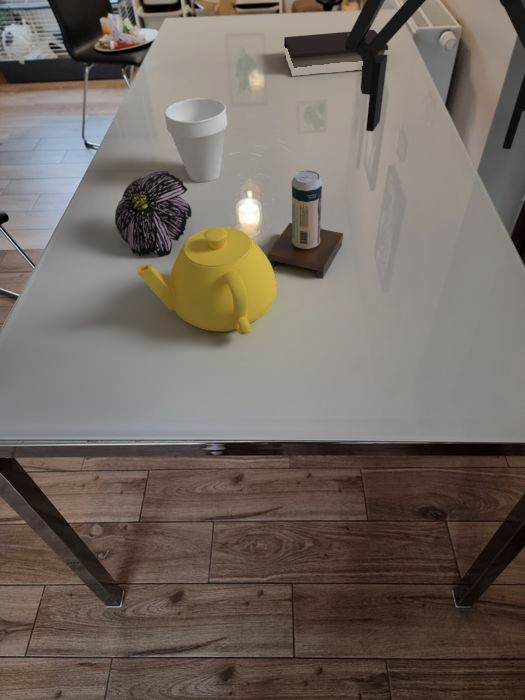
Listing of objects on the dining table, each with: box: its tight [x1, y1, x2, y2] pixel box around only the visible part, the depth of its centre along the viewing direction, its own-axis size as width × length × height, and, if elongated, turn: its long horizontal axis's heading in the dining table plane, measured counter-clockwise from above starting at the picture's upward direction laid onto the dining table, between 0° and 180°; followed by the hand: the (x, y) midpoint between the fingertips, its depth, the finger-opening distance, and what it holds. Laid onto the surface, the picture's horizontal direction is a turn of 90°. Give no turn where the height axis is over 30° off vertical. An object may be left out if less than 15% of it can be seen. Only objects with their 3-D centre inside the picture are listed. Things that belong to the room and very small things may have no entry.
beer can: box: [290, 169, 323, 249], centre depth 80 cm, size 5×5×12 cm
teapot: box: [136, 226, 278, 335], centre depth 73 cm, size 20×19×13 cm
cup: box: [164, 97, 228, 183], centre depth 103 cm, size 12×12×14 cm
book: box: [283, 29, 389, 68], centre depth 152 cm, size 28×20×6 cm
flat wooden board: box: [266, 222, 344, 279], centre depth 85 cm, size 10×10×2 cm
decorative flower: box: [114, 170, 192, 258], centre depth 89 cm, size 15×12×15 cm
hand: (437, 134), depth 51 cm, fingers open, 13 cm apart
